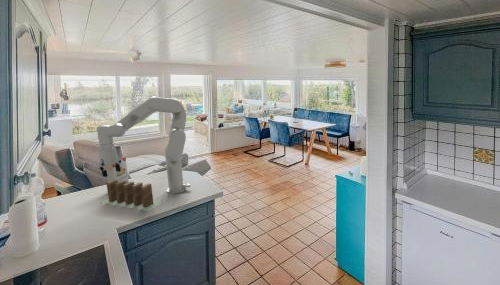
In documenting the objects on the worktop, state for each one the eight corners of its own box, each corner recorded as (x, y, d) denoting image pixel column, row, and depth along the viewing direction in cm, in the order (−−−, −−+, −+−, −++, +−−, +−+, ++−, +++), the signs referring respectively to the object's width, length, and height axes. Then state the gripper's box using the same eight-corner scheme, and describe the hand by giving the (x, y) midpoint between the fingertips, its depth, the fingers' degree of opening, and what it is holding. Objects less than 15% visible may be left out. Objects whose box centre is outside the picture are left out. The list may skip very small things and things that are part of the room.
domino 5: (153, 203, 163) (151, 183, 161) (146, 207, 158) (143, 187, 155) (150, 202, 164) (147, 183, 162) (142, 206, 159) (140, 187, 156)
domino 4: (144, 201, 166) (142, 182, 163) (137, 206, 160) (134, 186, 158) (141, 201, 167) (139, 182, 164) (134, 205, 161) (131, 185, 159)
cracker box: (116, 192, 185) (112, 162, 181) (108, 192, 186) (104, 161, 182) (129, 185, 198) (125, 156, 194) (122, 184, 200) (118, 156, 195)
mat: (163, 202, 164) (163, 202, 164) (149, 211, 153) (149, 210, 153) (115, 195, 179) (115, 195, 178) (99, 203, 168) (99, 202, 168)
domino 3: (136, 200, 168) (133, 181, 166) (128, 204, 163) (126, 185, 160) (133, 200, 169) (130, 181, 167) (125, 204, 164) (122, 184, 161)
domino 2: (128, 199, 171) (125, 180, 168) (120, 203, 165) (117, 184, 163) (125, 199, 171) (122, 180, 169) (117, 202, 166) (114, 183, 164)
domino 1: (120, 198, 173) (117, 179, 171) (112, 202, 168) (109, 183, 165) (117, 197, 174) (114, 179, 172) (109, 201, 168) (106, 182, 166)
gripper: (114, 142, 173) (118, 169, 177) (89, 149, 158) (95, 178, 161) (123, 143, 170) (127, 169, 174) (99, 149, 155) (104, 179, 158)
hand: (112, 173), depth 168 cm, fingers open, 9 cm apart
